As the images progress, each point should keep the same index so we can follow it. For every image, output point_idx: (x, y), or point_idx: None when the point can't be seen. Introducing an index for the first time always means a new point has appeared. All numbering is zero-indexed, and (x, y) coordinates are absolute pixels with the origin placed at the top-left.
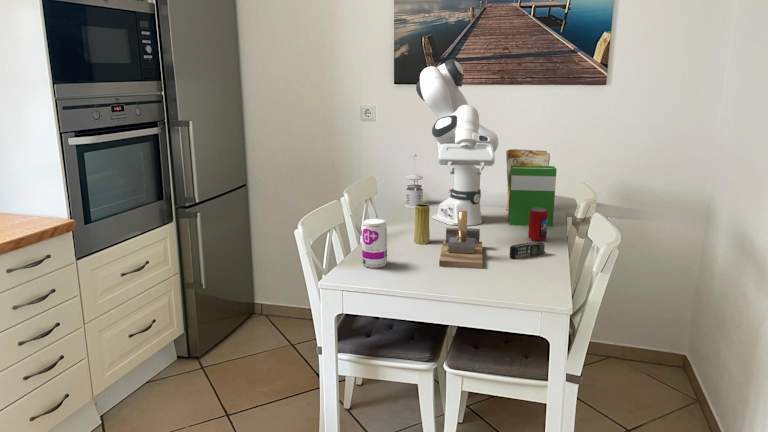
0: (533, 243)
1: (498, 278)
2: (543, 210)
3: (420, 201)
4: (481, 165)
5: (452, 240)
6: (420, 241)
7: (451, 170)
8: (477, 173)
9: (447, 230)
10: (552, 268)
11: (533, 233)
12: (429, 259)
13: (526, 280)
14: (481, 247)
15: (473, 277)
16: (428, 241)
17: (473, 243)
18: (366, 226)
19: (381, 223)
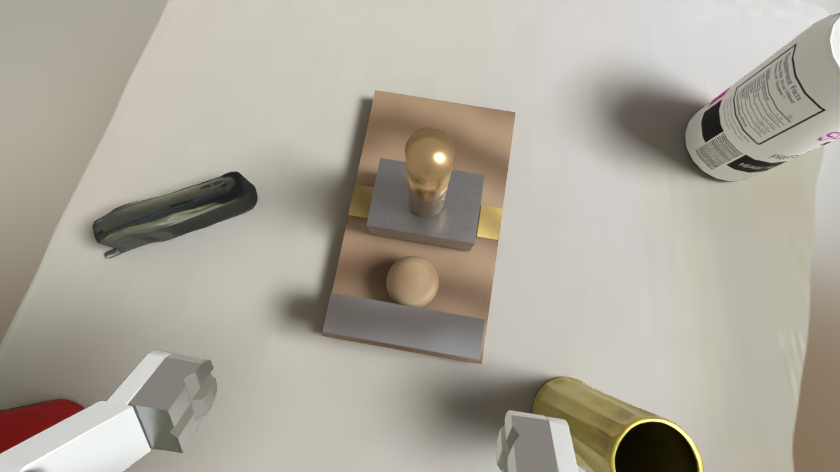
0: (139, 202)
1: (347, 23)
2: None
3: None
4: (59, 445)
5: (466, 194)
6: (576, 382)
7: (553, 431)
8: (207, 366)
9: (477, 318)
10: (156, 96)
11: (62, 415)
12: (539, 191)
13: (272, 7)
14: (342, 254)
15: (417, 32)
16: (540, 394)
17: (386, 159)
18: None
19: (837, 18)
